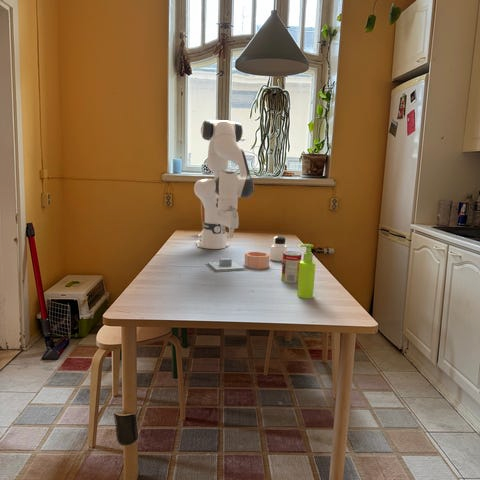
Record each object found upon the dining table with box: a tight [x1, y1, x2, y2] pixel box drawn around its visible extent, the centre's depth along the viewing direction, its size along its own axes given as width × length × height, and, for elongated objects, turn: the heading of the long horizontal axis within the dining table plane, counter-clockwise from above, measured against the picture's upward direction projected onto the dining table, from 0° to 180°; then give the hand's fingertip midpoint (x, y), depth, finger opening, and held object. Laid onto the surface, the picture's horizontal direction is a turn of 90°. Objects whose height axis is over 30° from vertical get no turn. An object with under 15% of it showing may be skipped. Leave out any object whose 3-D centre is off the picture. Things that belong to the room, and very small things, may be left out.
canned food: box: [280, 250, 303, 284], centre depth 173 cm, size 8×8×12 cm
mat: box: [204, 263, 248, 274], centre depth 190 cm, size 16×16×1 cm
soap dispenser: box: [296, 243, 317, 299], centre depth 153 cm, size 6×7×20 cm
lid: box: [207, 257, 244, 273], centre depth 189 cm, size 13×13×4 cm
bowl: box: [244, 251, 270, 270], centre depth 195 cm, size 11×11×6 cm
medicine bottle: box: [269, 235, 288, 262], centre depth 211 cm, size 7×7×12 cm
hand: (226, 235), depth 187 cm, fingers open, 8 cm apart
